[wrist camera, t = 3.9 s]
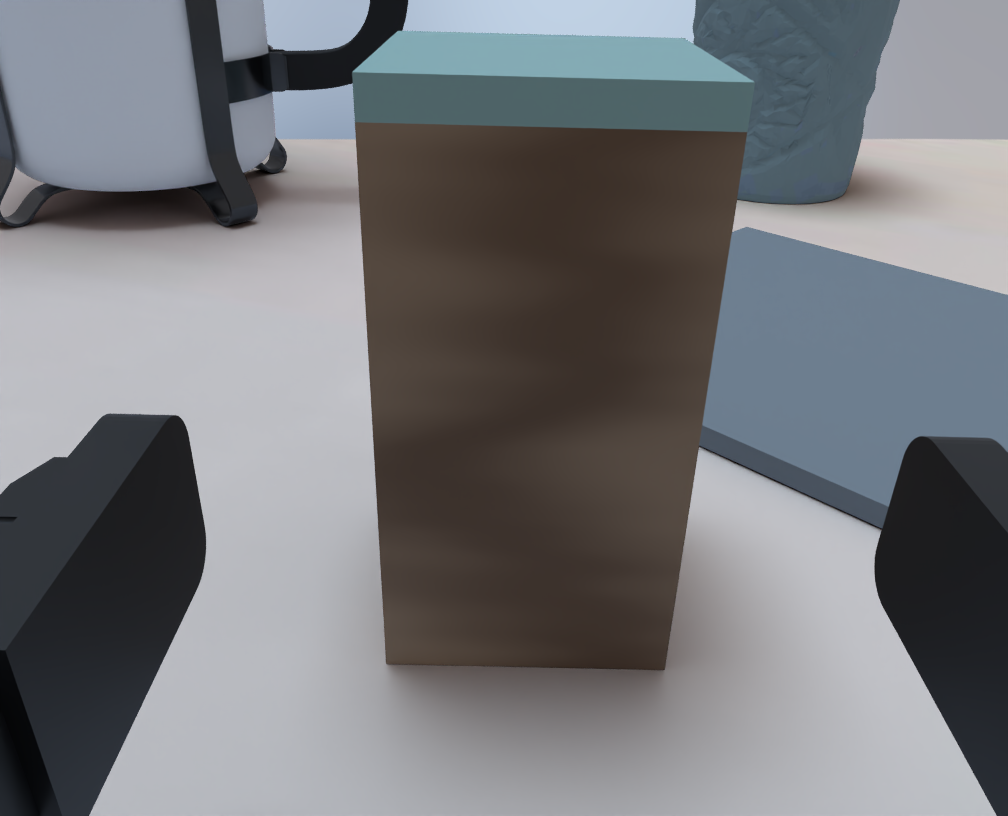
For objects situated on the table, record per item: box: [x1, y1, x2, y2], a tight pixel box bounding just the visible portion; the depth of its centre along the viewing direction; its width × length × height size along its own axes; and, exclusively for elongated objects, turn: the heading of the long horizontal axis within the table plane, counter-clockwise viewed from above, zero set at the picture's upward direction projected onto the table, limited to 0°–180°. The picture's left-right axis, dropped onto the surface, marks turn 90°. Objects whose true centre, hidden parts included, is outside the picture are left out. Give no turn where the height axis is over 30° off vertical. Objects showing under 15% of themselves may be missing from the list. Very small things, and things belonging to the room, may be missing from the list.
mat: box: [699, 227, 1008, 528], centre depth 26 cm, size 20×16×1 cm
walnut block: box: [352, 31, 755, 670], centre depth 15 cm, size 5×5×10 cm
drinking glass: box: [693, 0, 900, 204], centre depth 44 cm, size 10×10×12 cm
